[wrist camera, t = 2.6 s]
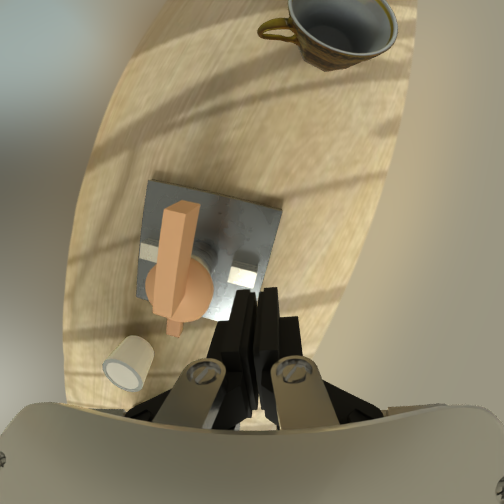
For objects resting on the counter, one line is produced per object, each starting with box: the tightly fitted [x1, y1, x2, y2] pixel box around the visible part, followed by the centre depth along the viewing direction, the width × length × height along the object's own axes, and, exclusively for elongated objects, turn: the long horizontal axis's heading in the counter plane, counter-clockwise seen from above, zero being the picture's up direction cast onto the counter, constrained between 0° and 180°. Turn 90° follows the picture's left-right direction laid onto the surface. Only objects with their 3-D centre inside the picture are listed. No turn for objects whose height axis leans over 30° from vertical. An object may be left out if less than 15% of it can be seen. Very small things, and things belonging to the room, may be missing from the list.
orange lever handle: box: [145, 200, 214, 338], centre depth 23 cm, size 14×6×6 cm, turn 166°
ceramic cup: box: [257, 0, 398, 71], centre depth 20 cm, size 13×10×10 cm
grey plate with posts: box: [136, 179, 282, 321], centre depth 30 cm, size 16×16×8 cm
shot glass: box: [103, 335, 154, 392], centre depth 37 cm, size 7×7×7 cm
